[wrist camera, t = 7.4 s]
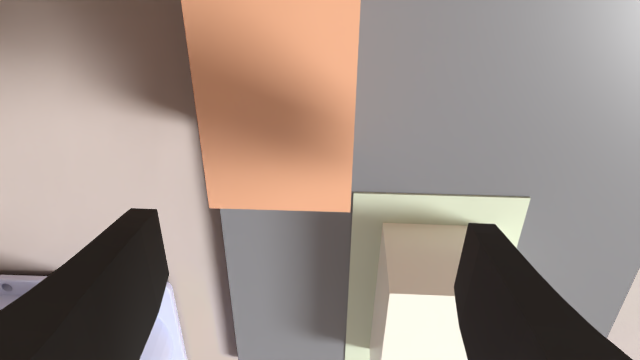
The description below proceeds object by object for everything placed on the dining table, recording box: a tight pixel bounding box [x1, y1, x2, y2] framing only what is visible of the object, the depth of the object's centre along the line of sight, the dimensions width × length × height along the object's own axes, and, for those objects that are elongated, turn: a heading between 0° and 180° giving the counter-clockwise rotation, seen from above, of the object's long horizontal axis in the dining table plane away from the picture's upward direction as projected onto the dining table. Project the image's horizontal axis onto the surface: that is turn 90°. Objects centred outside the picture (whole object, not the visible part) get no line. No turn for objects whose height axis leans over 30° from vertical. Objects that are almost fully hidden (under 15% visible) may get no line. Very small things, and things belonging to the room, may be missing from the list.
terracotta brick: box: [181, 0, 361, 212], centre depth 16 cm, size 4×8×4 cm, turn 0°
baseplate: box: [220, 0, 640, 360], centre depth 21 cm, size 18×24×1 cm
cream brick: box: [369, 223, 468, 360], centre depth 22 cm, size 4×8×4 cm, turn 179°
